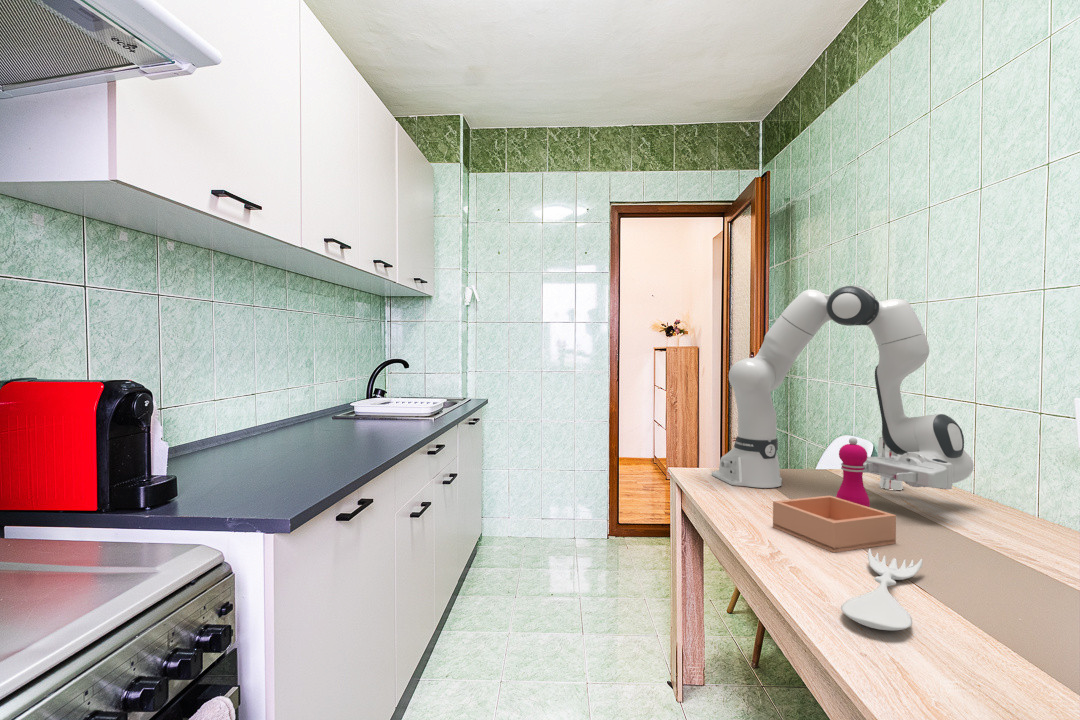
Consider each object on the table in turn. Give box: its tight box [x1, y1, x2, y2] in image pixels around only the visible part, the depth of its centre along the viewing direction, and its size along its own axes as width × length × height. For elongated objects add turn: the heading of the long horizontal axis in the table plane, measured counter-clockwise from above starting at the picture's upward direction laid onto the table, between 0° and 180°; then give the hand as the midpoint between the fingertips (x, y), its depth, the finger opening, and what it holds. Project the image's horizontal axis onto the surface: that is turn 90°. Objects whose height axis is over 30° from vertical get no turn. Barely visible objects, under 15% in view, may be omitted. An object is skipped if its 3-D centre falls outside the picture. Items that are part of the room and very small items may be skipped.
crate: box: [772, 495, 897, 553], centre depth 121 cm, size 17×17×6 cm
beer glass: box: [877, 436, 904, 491], centre depth 163 cm, size 7×7×15 cm
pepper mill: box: [835, 437, 871, 508], centre depth 132 cm, size 7×7×20 cm
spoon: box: [840, 548, 923, 631], centre depth 90 cm, size 9×32×4 cm, turn 142°
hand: (877, 472), depth 135 cm, fingers open, 8 cm apart
